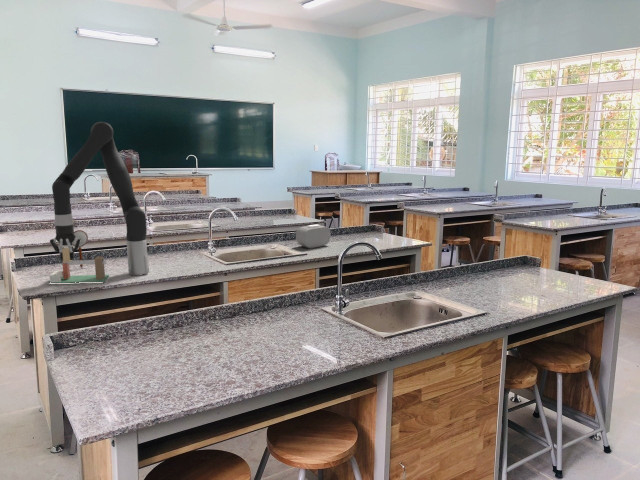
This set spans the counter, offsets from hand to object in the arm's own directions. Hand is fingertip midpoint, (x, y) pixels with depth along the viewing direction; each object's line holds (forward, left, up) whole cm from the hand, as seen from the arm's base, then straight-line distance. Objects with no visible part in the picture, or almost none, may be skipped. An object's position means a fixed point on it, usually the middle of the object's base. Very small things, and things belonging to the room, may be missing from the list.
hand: (67, 259), depth 239 cm
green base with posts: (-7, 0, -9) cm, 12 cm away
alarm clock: (-125, -61, -11) cm, 140 cm away
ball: (+4, 0, -7) cm, 8 cm away
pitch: (-4, 0, -10) cm, 11 cm away
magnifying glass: (+1, -22, -11) cm, 24 cm away
